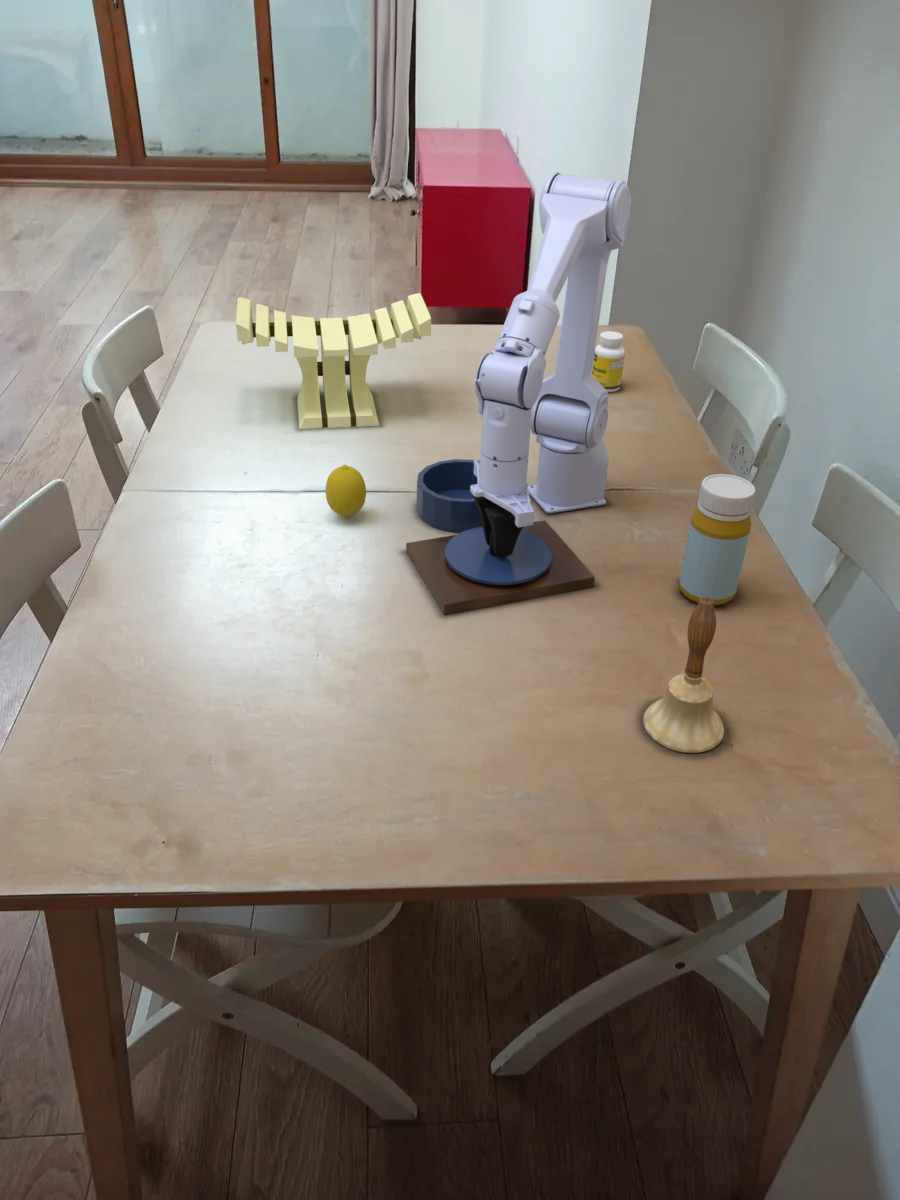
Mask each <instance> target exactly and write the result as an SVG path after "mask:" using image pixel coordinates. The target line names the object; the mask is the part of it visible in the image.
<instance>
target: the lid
mask: <svg viewBox="0 0 900 1200" xmlns="http://www.w3.org/2000/svg"><path fill="white" fill-rule="evenodd" d="M455 535H456V536H454V537H453V538H452V539H451V540H450V541H449V542H448V544H447V546H446V549H445V558H446V561H447V563H448V565H449V566H450V567H451V568H452V569H453V570H454V571H455V572H457V573H458V574H460V575H461V576H463V577H465V578H468V579H470V580H473V581H476V582H481V583H485V584H493V585H512V584H519V583H524V582H527V581H530V580H533V579H535V578H537V577H539V576H541V575H542V574H543V573H545V572H546V571H547V569H548V568H549V566H550V564H551V560H552V554H551V550H550V548H549V546H548V545H547V544H546V543H545V542H544V541H543V540H542V539H541V538H539V537H538V536H536V535H534V534H532V533H530V532H527V531H524V530H521V532H520V534H519V537H518V539H517V542H516V545H515V547H514V550H513V553H512V555H510V556H504V557H496V555H495V552H494V548H493V534H492V528H490V543H489V546H488V545H487V543H486V540H485V535H484V530H483V527H476V528H472V529H469V530H466V531H463V532H461V533H457V534H455Z"/></svg>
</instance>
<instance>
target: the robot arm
mask: <svg viewBox="0 0 900 1200" xmlns="http://www.w3.org/2000/svg"><path fill="white" fill-rule="evenodd" d="M631 205H632V197H631V191H630V187H629V186H628V183H627V182H626V180H624V179H623V180H622V179H619V180H611V179H604V178H594V177H588V176H580V175H573V174H572V175H571V174H562V173H560V172H557V171H554V172H551V173H550V175H549V176H548V177H547V178H546V179H545V181H544V183H543V185H542V188H541V191H540V195H539V201H538V212H539V222H540V228H541V232H542V239H541V242H540V246H539V249H538V252H537V255H536V259H535V262H534V265H533V269H532V273H531V277H530V280H529V283H528V286H527V290H526V291H523V292H521V293H519V294H517V295H516V296H514V298H513V300H512V302H511V305H510V307H509V311H508V313H507V315H506V318H505V321H504V324H503V326H502V327H501V330H500V333H499V335H498V338H497V340H496V344H495V346H494V347H493V350H491V352H486V353H485V354H483V356H482V357H481V359H480V361H479V363H478V365H477V369H476V373H475V374H476V375H475V380H474V391H475V395H476V398H477V404H478V406H477V407H478V408H477V410H478V413H479V414H480V415H481V417H482V420H481V421H482V423H481V443H480V459H473V460H474V475H475V476H476V477H477V484H475V485H471V486H470V491H471V493H472V496H473V498H474V500H475V502H476V504H477V507H478V509H479V512H480V516H481V520H482V525H483V530H484V535H485V540H486V543H487V545H488V546H489V543H490V528H492V534H493V548H494V552H495V555H496V557H504V556H510V555H512V553H513V550H514V547H515V545H516V542H517V539H518V537H519V534H520V532H521V530H522V528H523V527H525V526H530V525H533V522H534V521H535V520H534V519H535V510H534V509H533V508H532V505H531V499H530V496H531V498H532V499H533V500H534V501H535V502H536V503H537V504H538V505H539V506H540V508H541V509H542V510H543V511H544V512H545V513H546V514H555V513H561V512H568V511H573V510H580V509H586V508H593V507H598V506H603V505H606V504H607V500H606V499H605V492H606V483H607V476H608V468H609V454H608V449H607V446H606V444H605V443H604V441H603V438H604V437H605V433H606V430H607V425H608V419H609V409H608V405H609V404H608V403H609V392H607V390H606V389H605V388H604V387H603V386H602V385H601V384H600V383H599V382H598V381H597V380H596V379H595V378H594V377H593V376H592V370H593V361H594V352H595V348H596V346H597V345H596V344H597V337H598V332H599V331H598V330H599V324H600V317H601V311H602V304H603V297H604V292H605V291H604V290H605V284H606V277H607V272H608V271H607V270H608V265H609V260H610V256H611V253H612V251H614V250H619V249H622V248H623V247H624V243H625V240H626V237H627V231H628V227H629V226H628V225H629V220H630V219H629V218H630V213H631ZM566 281H567V282H566ZM565 284H566V290H565V297H564V303H563V310H562V311H563V313H562V319H561V320H562V321H561V327H560V335H559V342H558V351H557V358H556V365H555V372H553V373H552V374H550V375H547V376H546V377H544V373H545V370H546V366H547V361H546V358H545V357H546V354H547V352H548V349H549V346H550V343H551V341H552V339H553V336H554V334H555V331H556V328H557V326H558V322H559V320H560V317H561V313H560V312H561V311H560V309H559V307H558V305H557V304H556V302H557V300H558V297H559V296H560V294H561V291H562V290H563V287H564V286H565ZM531 434H533V435H534V436H536V438H535V439H536V440H535V442H536V443H539V452H538V453H539V454H538V467H537V477H536V478H537V479H536V484H531V485H528V482H527V481H528V468H529V456H530V439H531Z"/></svg>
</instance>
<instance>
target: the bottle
mask: <svg viewBox="0 0 900 1200" xmlns="http://www.w3.org/2000/svg"><path fill="white" fill-rule="evenodd" d="M755 495H756V487H755V486H754V484H753V483H752V482H750V481H749V480H747V479H745V478H744V477H741V476H738V475H734V474H729V473H728V474H727V473H717V474H710V475H708V476H706V477H705V478H703V480H702V481H701V484H700V489H699V494H698V501H697V505H696V507H695V509H694V510H693V512H692V514H691V518H690V522H689V526H688V534H687V539H686V543H685V547H684V548H685V549H684V553H683V558H682V559H683V560H682V564H681V571H680V575H679V582H678V587H679V589H680V591H681V592H682V594H683V595H684V596H685V598H686V599H688V600H690V601H691V602H694V603H696V604H698V603H699V601H700V598H702V597H710V598H712V599H713V601H714V607H716V606H722V605H725V604H727V603H729V602H730V601H732V600H733V599H734V598H735V596H736V593H737V589H738V585H739V580H740V576H741V573H742V568H743V565H744V564H743V563H744V559H745V554H746V550H747V546H748V541H749V538H750V537H749V536H750V533H751V527H752V520H751V511H752V507H753V503H754V500H755Z"/></svg>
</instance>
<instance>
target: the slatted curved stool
mask: <svg viewBox="0 0 900 1200" xmlns="http://www.w3.org/2000/svg"><path fill="white" fill-rule="evenodd" d="M251 301H252V300H251V299H250V298H246V297H237V303H236V304H237V305H236V317H235V319H236V320H235V325H236V326H235V327H236V337H237V342H241V345H242V346H243V345H247V344H251V343H254V338H255V341H256V343H255V344H256V347H258V348H259V347H262V348H263V347H265V348H266V347H270V342H271V338H274V347H275V349H274V350H275V353H287V352H289V339H288V338H289V337H292V343H293V358H295V359H296V361H297V363H298V365H299V369H300V371H301V374H302V381H301V384H300V389H299V391H298V395H297V400H296V401H297V417H298V429H299V430H308V429H309V430H311V429H323V427H327V428H328V429H332V428H333V429H334V428H335V429H336V428H338V429H339V428H351V427H352V426H356V427H357V428H359V427H360V428H361V427H379V426H380V423H379V417H378V414H377V410H376V405H375V401H374V397H373V394H372V392H371V390H370V388H369V386H368V384H367V379H366V378H367V377H366V376H367V375H366V374H367V368H368V363H369V361H370V358H371V356H378V355H379V345H380V344H382V347H383V349H384V350H387V349H388V350H389V349H396V347H397V346H396V345H397V344H396V342H397V341H396V339H400V343H414V339H417V340H422V337H431V336H432V317H431V314H430V311H429V309H428V307H427V305H426V302H425V300H424V298H423V296H422V293H421V292H419V293H414V294H409V295H407V300H406V302H407V303H406V304H405V302H404V300H403V299H401V300H398V301H395V302H392V303H390V315H389V311H388V309H387V306H385V307H381V308H378V309H374V319H372V317H371V313H370V312H368V313H363V314H357V315H350V316H347V319H343V317H319V320H315V317H310V316H301V315H293V314H291V321H287V313H286V312H285V311H281V310H276V309H274V310H273V311H274V312H273V317H274V318H273V321H270V311H269V306H266V305H264V304H260V303H256V304H255V322H253V321H254V320H253V312H252V311H253V310H252V302H251ZM317 336H319V337H320V350H321V351H320V352H321V361H318V357H319V346H318V338H317ZM346 336H347V337H346ZM345 356H347V357H348V360H345V359H346V357H345ZM346 376H348V377H349V391H350V398H351V399H350V400H351V404H352V409H353V410H352V411H353V412H351V411H350V403H349V399H348V398H349V397H348V390H347V381H346V380H347V378H346ZM319 377H322V385H323V386H322V387H323V398H324V405H325V406H324V407H325V414H324V413H323V414H322V409H321V408H322V407H321V398H320V388H319V387H320V386H319Z"/></svg>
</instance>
